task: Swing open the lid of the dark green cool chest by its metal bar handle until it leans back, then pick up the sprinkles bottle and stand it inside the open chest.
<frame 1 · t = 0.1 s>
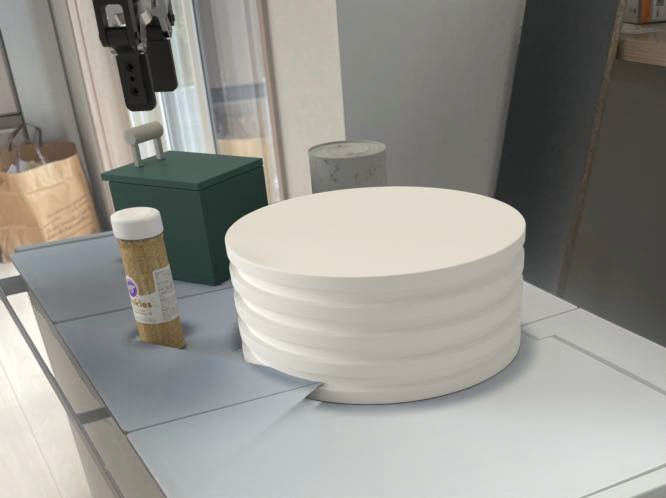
hand: (154, 100, 67), 24 cm above the table, tool pointing down, fingers open, 8 cm apart
plate stack: (382, 342, 86), on the table
speckled concrete cylinder: (354, 252, 109), on the table
sprinkles bottle: (165, 349, 86), on the table
chest: (203, 262, 107), on the table
lid: (179, 150, 99), point 13 cm above the table, hinge at 0.0°
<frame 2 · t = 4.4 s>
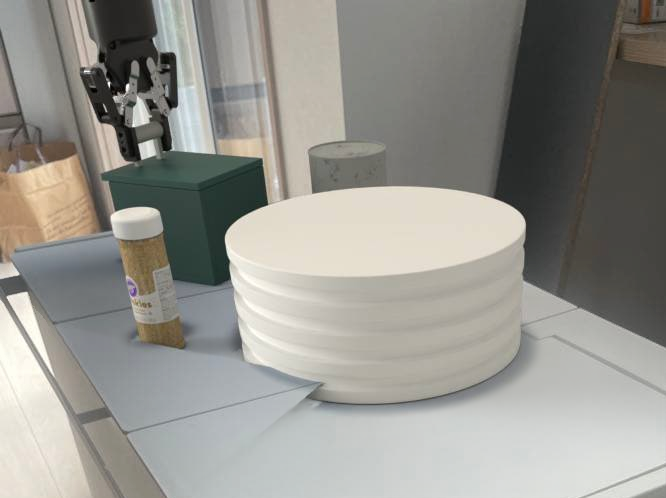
hand: (148, 155, 102), 13 cm above the table, tool pointing down, fingers closed on lid, 5 cm apart
lid: (179, 150, 99), point 13 cm above the table, hinge at -0.1°, touching gripper
everything else where it was.
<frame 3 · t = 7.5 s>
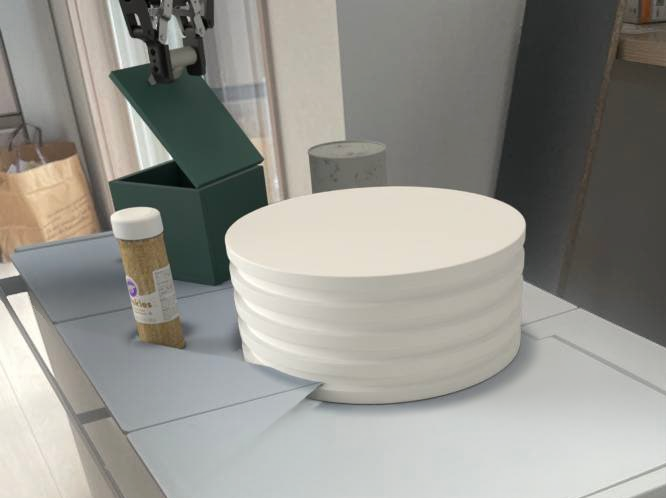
hand: (180, 78, 94), 21 cm above the table, tool pointing down, fingers closed on lid, 5 cm apart
lid: (199, 107, 95), point 18 cm above the table, hinge at 48.9°, touching gripper
everything else where it was.
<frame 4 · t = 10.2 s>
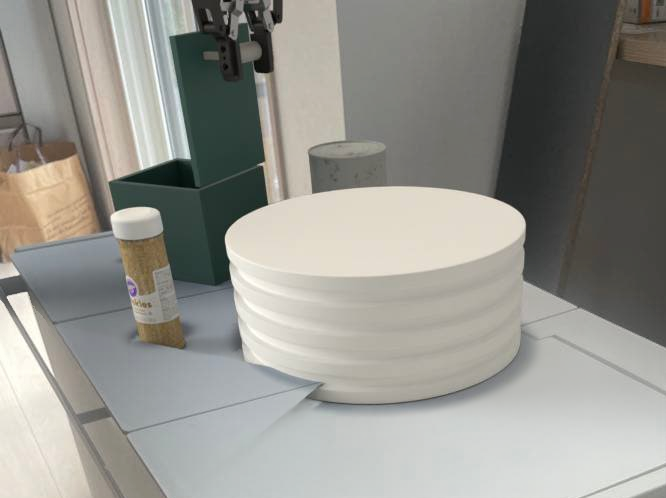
hand: (249, 76, 90), 21 cm above the table, tool pointing down, fingers closed on lid, 5 cm apart
lid: (236, 105, 93), point 19 cm above the table, hinge at 89.9°, touching gripper
everything else where it was.
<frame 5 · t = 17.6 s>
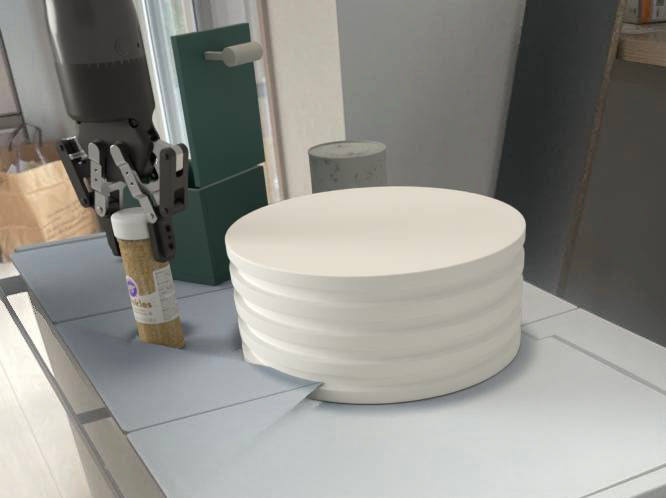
hand: (144, 256, 80), 9 cm above the table, tool pointing down, fingers closed on sprinkles bottle, 4 cm apart
sprinkles bottle: (164, 349, 86), on the table, touching gripper
lid: (237, 105, 93), point 18 cm above the table, hinge at 90.5°
everything else where it was.
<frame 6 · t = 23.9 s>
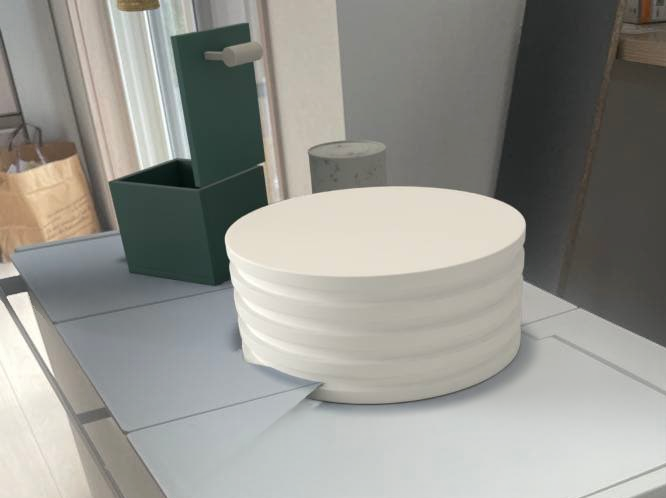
sprinkles bottle: (140, 12, 90), point 27 cm above the table, touching gripper
everything else where it was.
when the fingers open (10 cm above the table, at t = 30.1 s): sprinkles bottle stays where it is, resting on chest.
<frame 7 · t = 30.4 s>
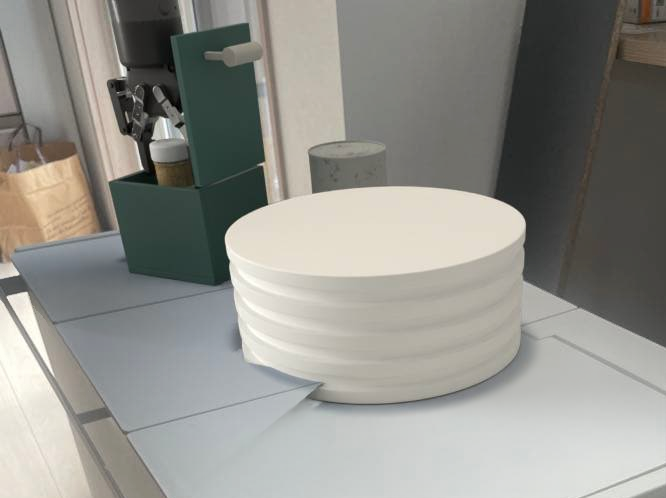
hand: (176, 175, 102), 10 cm above the table, tool pointing down, fingers open, 6 cm apart
sprinkles bottle: (189, 256, 108), point 1 cm above the table, touching chest
everything else where it was.
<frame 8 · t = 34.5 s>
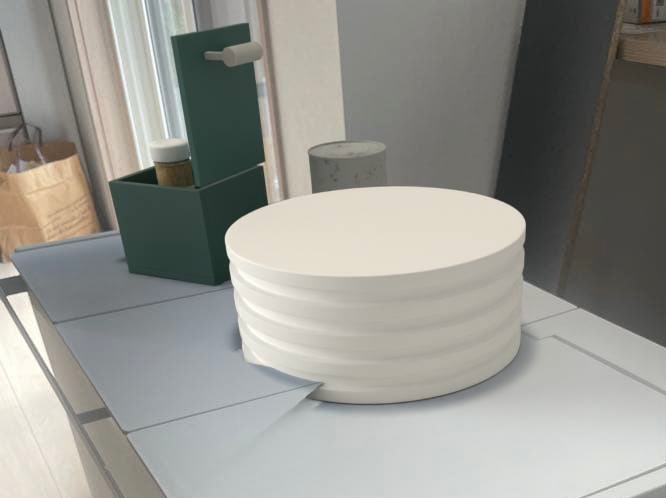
nothing on the table moved.
at the end: lid at +90° (first picture: +0°); sprinkles bottle inside the target area in the chest (2.1 cm from its centre), point 0.6 cm above the chest's base; sprinkles bottle tilted 0° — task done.
